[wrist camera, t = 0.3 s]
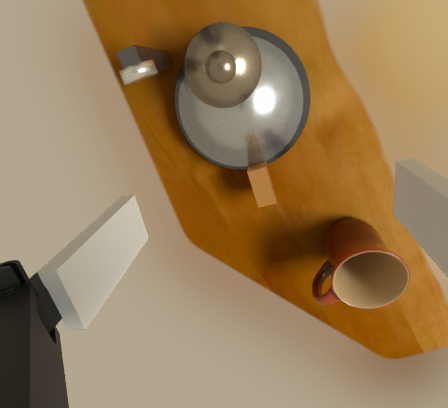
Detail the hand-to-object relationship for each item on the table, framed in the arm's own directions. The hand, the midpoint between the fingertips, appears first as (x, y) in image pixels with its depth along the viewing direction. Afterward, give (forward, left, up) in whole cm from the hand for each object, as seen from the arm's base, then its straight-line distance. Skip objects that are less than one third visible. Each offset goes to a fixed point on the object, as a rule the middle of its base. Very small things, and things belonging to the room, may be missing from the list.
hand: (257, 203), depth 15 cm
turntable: (-1, -2, -25) cm, 25 cm away
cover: (-8, -2, -23) cm, 25 cm away
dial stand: (-11, -10, -27) cm, 30 cm away
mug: (+21, +6, -27) cm, 34 cm away
